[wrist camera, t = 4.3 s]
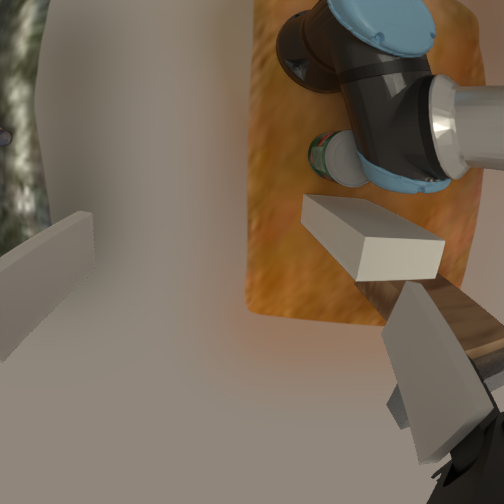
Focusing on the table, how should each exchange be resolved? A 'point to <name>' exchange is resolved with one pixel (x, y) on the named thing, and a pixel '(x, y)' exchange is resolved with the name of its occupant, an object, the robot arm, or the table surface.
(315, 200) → the cream rectangular box
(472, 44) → the table surface
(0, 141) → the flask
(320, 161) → the canned tomato
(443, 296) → the tall cabinet
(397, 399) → the grey square bar
